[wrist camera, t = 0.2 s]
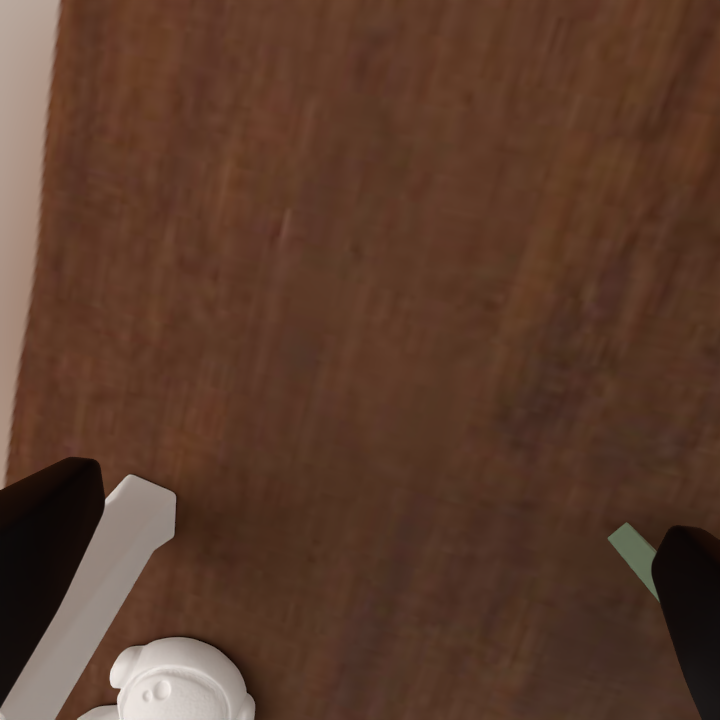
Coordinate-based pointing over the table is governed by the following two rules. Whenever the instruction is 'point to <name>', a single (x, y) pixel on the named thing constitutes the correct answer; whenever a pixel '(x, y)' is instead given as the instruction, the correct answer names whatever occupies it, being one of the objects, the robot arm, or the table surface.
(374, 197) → the table surface
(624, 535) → the green flat slab
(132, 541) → the perfume bottle
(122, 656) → the astronaut figurine
